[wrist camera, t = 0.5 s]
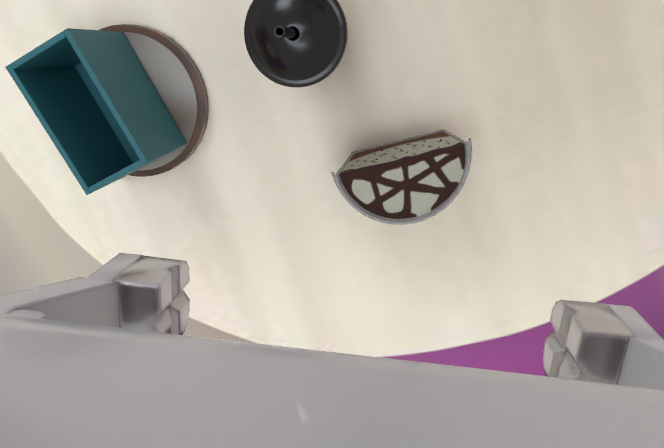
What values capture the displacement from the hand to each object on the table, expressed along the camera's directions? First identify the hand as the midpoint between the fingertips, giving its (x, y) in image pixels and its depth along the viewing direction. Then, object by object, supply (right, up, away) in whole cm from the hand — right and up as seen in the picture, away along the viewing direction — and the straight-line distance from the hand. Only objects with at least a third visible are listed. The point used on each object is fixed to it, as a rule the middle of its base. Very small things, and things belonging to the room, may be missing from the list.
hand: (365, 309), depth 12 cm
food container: (+7, +7, +45) cm, 46 cm away
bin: (-21, +14, +43) cm, 50 cm away
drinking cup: (-2, +20, +42) cm, 46 cm away
